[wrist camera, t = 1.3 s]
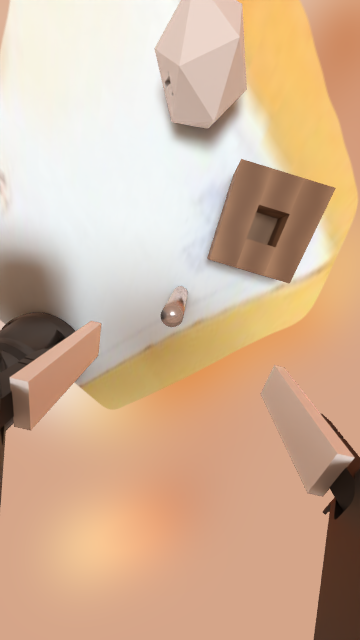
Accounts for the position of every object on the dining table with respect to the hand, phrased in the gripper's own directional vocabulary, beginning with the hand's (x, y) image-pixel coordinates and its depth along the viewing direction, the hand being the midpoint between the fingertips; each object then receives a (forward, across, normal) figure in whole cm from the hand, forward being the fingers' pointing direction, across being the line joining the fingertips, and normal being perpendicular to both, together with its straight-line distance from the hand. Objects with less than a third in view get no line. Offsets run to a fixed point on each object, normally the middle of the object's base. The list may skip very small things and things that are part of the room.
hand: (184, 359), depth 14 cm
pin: (+19, -2, +1) cm, 19 cm away
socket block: (+19, +7, +12) cm, 23 cm away
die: (+19, -5, +25) cm, 32 cm away
